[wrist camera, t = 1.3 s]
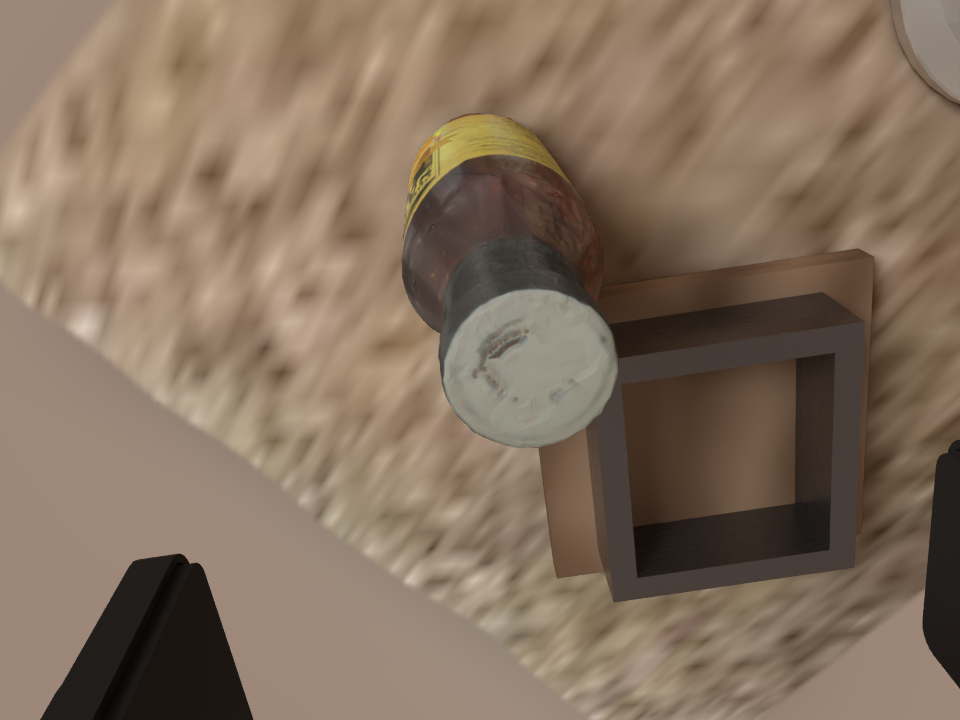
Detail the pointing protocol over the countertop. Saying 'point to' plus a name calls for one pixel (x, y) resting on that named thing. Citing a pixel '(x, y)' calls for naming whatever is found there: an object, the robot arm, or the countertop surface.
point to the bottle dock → (722, 431)
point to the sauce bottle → (508, 283)
